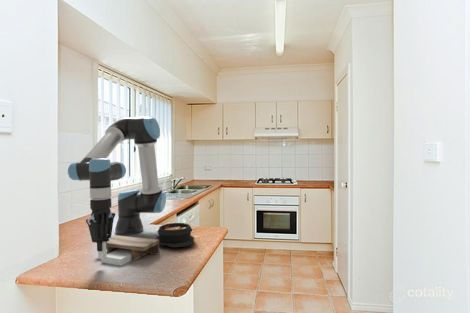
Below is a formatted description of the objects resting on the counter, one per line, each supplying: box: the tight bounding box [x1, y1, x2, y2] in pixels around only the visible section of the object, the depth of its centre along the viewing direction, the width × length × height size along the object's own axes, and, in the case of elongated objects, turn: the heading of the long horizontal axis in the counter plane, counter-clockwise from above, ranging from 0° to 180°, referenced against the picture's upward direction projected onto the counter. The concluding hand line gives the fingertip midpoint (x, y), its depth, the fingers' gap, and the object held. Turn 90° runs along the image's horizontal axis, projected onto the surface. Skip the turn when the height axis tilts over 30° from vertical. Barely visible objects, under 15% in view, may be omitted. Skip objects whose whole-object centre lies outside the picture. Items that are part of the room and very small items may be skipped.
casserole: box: [156, 222, 195, 248], centre depth 145 cm, size 25×19×8 cm
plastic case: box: [101, 248, 133, 266], centre depth 125 cm, size 14×10×3 cm
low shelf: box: [106, 234, 160, 261], centre depth 129 cm, size 11×24×6 cm, turn 71°
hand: (102, 258), depth 115 cm, fingers closed
